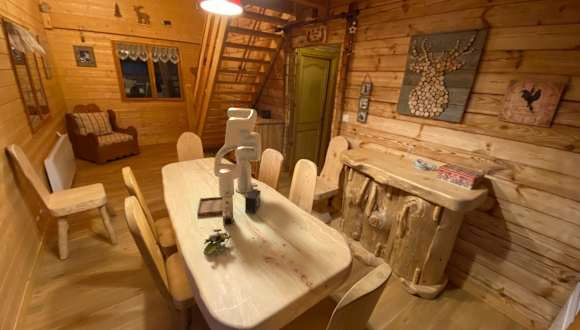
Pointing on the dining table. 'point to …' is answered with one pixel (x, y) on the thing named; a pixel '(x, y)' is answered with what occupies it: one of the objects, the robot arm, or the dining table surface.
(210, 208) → the walnut tray
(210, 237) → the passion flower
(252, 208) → the small box
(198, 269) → the dining table surface
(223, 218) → the walnut cube
